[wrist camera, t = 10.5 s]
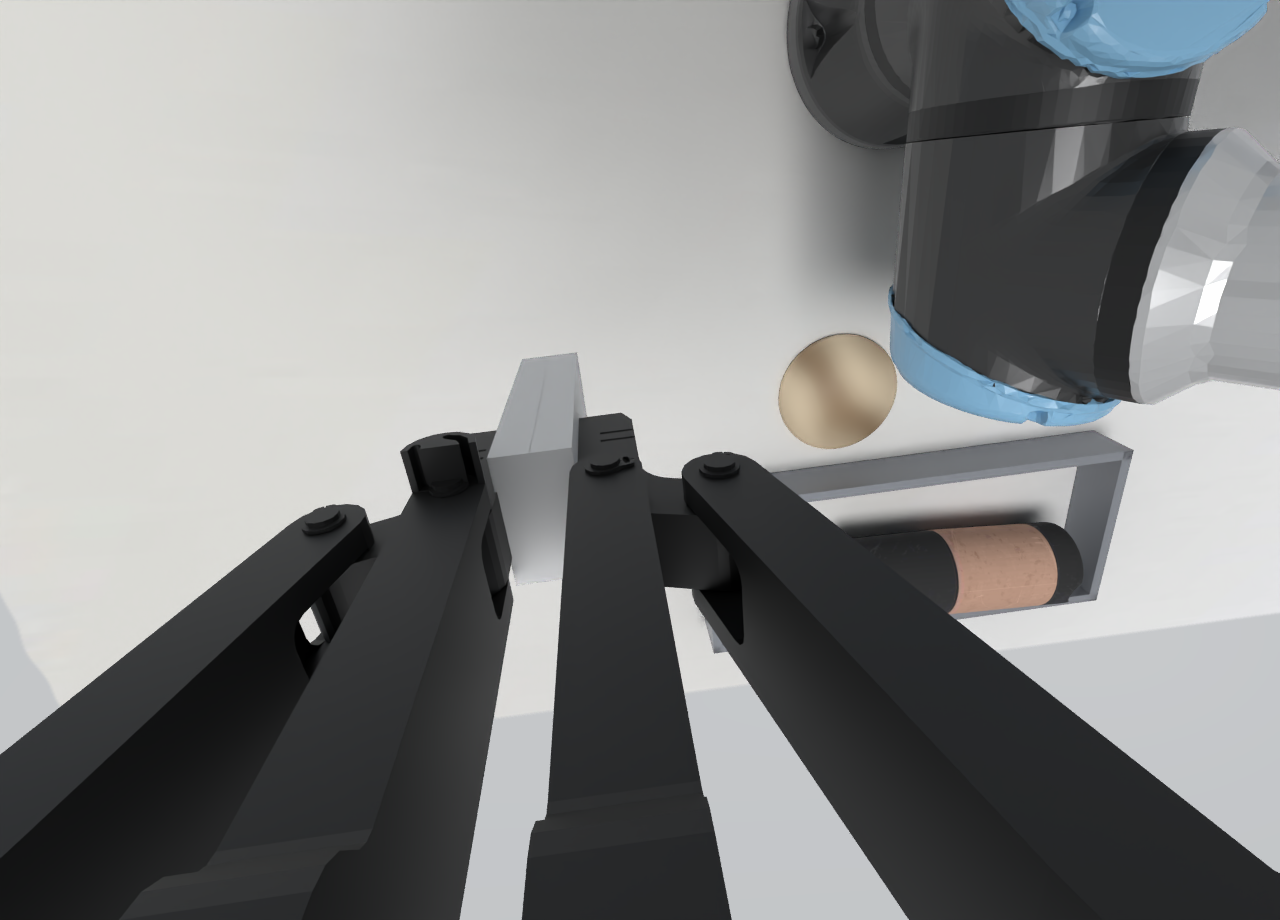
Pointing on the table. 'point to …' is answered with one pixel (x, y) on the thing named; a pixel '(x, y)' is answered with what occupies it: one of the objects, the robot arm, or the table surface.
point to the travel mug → (985, 565)
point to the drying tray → (1091, 496)
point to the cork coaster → (837, 391)
